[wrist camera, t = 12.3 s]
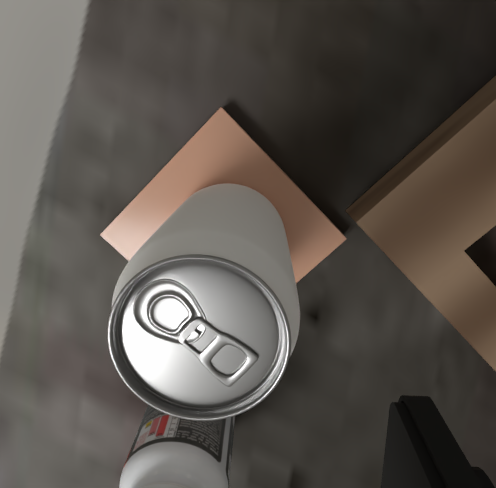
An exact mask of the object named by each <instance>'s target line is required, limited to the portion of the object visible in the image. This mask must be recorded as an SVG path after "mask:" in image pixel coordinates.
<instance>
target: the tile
mask: <svg viewBox="0 0 496 488" xmlns="http://www.w3.org/2000/svg"><path fill="white" fill-rule="evenodd" d="M224 183H230V184H239V185H243V186H246V187H249V188H251V189H253V190H255V191H257V192H259V193H260V194H262V195H263V196H264V197H266V198H267V199H268V200H269V201H270V202H271V203H272V204H273V206H274V207H275V208H276V210H277V212H278V213H279V215H280V217H281V219H282V222H283V225H284V228H285V233H286V237H287V242H288V246H289V251H290V256H291V261H292V266H293V271H294V277H295V282H296V283H297V282H298V281H299V280H300V279H302V278H303V277H304V276H305V275H306V274H307V273H308V272H309V271H311V270H312V269H313V268H314V267H315V266H316V265H317V264H319V263H320V262H321V261H322V260H323V259H324V258H325V257H327V256H328V255H329V254H330V253H331V252H332V251H333V250H335V249H336V248H337V247H338V246H339V245H340V244H341V243H342V242H344V241H345V240H346V239H347V238H346V237H345V236H344V234H343V233H342V232H341V231H340V230H339V229H338V228H337V227H336V226H335V225H334V224H333V223H332V222H331V221H330V220H329V218H328V217H327V216H326V215H325V214H324V213H323V212H322V211H321V210H320V209H319V208H318V207H317V206H316V205H315V204H314V203H313V202H312V201H311V200H310V199H309V198H308V196H307V195H306V194H305V193H304V192H303V191H302V190H301V189H300V188H299V187H298V186H297V185H296V184H295V183H294V182H293V181H292V180H291V179H290V178H289V177H288V175H287V174H286V173H285V172H284V171H283V170H282V169H281V168H280V167H279V166H278V165H277V164H276V163H275V162H274V161H273V160H272V159H271V158H270V157H269V156H268V155H267V153H266V152H265V151H264V150H263V149H262V148H261V147H260V146H259V145H258V144H257V143H256V142H255V141H254V140H253V139H252V138H251V137H250V136H249V135H248V134H247V132H246V131H245V130H244V129H243V128H242V127H241V126H240V125H239V124H238V123H237V122H236V121H235V120H234V119H233V118H232V117H231V116H230V115H229V114H228V113H227V112H226V110H225V109H224V108H222V107H221V108H220V109H219V110H218V111H217V112H216V113H215V114H214V115H213V116H212V117H211V118H210V119H209V120H208V121H207V122H206V123H205V125H204V126H203V127H202V128H201V129H200V130H199V131H198V132H197V133H196V134H195V135H194V136H193V137H192V138H191V139H190V140H189V141H188V142H187V144H186V145H185V146H184V147H183V148H182V149H181V150H180V151H179V152H178V153H177V154H176V155H175V156H174V157H173V158H172V159H171V160H170V162H169V163H168V164H167V165H166V166H165V167H164V168H163V169H162V170H161V171H160V172H159V173H158V174H157V175H156V176H155V177H154V178H153V179H152V181H151V182H150V183H149V184H148V185H147V186H146V187H145V188H144V189H143V190H142V191H141V192H140V193H139V194H138V195H137V196H136V197H135V199H134V200H133V201H132V202H131V203H130V204H129V205H128V206H127V207H126V208H125V209H124V210H123V211H122V212H121V213H120V214H119V215H118V216H117V218H116V219H115V220H114V221H113V222H112V223H111V224H110V225H109V226H108V227H107V228H106V229H105V230H104V231H103V232H102V233H101V234H100V235H101V236H102V237H103V238H104V239H105V240H106V241H107V242H108V243H110V244H111V245H112V246H113V247H114V248H115V249H116V250H117V251H118V252H119V253H121V254H122V255H123V256H124V257H125V258H126V259H127V260H128V261H130V260H131V258H132V257H133V256H134V255H135V253H136V252H137V251H138V250H139V249H140V248H141V247H142V246H143V244H144V243H145V242H146V241H147V240H148V239H149V238H150V237H151V236H152V235H153V234H154V233H155V232H156V231H157V230H158V228H159V227H160V226H161V225H162V224H163V223H164V222H165V221H166V220H167V219H168V218H169V217H170V216H171V215H172V214H173V213H174V212H175V211H176V210H177V209H178V208H179V207H180V206H181V205H182V204H183V203H184V202H185V201H186V200H187V199H188V198H189V197H190V196H191V195H192V194H194V193H195V192H197V191H199V190H201V189H203V188H206V187H209V186H212V185H216V184H224Z"/></svg>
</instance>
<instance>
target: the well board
mask: <svg viewBox="0 0 496 488" xmlns="http://www.w3.org/2000/svg"><path fill="white" fill-rule="evenodd" d="M345 211H346V212H347V213H348V214H349V215H350V217H351V218H352V219H353V220H354V221H355V222H356V223H357V224H358V225H359V226H360V227H361V228H362V230H363V231H364V232H365V233H366V234H367V235H368V236H369V237H370V238H371V239H372V240H373V241H374V242H375V243H376V244H377V245H378V247H379V248H380V249H381V250H382V251H383V252H384V253H385V254H386V255H387V256H388V257H389V258H390V259H391V260H392V261H393V263H394V264H395V265H396V266H397V267H398V268H399V269H400V270H401V271H402V272H403V273H404V274H405V275H406V276H407V277H408V278H409V280H410V281H411V282H412V283H413V284H414V285H415V286H416V287H417V288H418V289H419V290H420V291H421V292H422V293H423V294H424V296H425V297H426V298H427V299H428V300H429V301H430V302H431V303H432V304H433V305H434V306H435V307H436V308H437V309H438V310H439V311H440V313H441V314H442V315H443V316H444V317H445V318H446V319H447V320H448V321H449V322H450V323H451V324H452V325H453V326H454V327H455V329H456V330H457V331H458V332H459V333H460V334H461V335H462V336H463V337H464V338H465V339H466V340H467V341H468V342H469V343H470V344H471V346H472V347H473V348H474V349H475V350H476V351H477V352H478V353H479V354H480V355H481V356H482V357H483V358H484V359H485V360H486V362H487V363H488V364H489V365H490V366H491V367H492V368H493V369H494V370H495V371H496V286H495V285H494V284H493V283H492V282H491V281H490V280H489V279H488V277H487V276H486V275H485V274H484V273H483V272H482V271H481V270H480V268H479V267H478V266H477V265H476V264H475V263H474V262H473V261H472V259H471V258H470V257H469V256H468V255H467V254H466V253H465V252H464V250H466V249H467V248H468V247H469V246H471V245H472V244H473V243H474V242H475V241H477V240H478V239H479V238H480V237H482V236H483V235H484V234H485V233H487V232H488V231H489V230H490V229H492V228H493V227H494V226H495V225H496V76H495V77H493V78H492V79H491V80H490V81H489V82H488V83H487V84H486V85H485V86H483V87H482V88H481V89H480V90H479V91H478V92H477V93H476V94H475V95H473V96H472V97H471V98H470V99H469V100H468V101H467V102H466V103H465V104H463V105H462V106H461V107H460V108H459V109H458V110H457V111H456V112H454V113H453V114H452V115H451V116H450V117H449V118H448V119H447V120H446V121H444V122H443V123H442V124H441V125H440V126H439V127H438V128H437V129H436V130H434V131H433V132H432V133H431V134H430V135H429V136H428V137H427V138H426V139H424V140H423V141H422V142H421V143H420V144H419V145H418V146H417V147H416V148H414V149H413V150H412V151H411V152H410V153H409V154H408V155H407V156H406V157H404V158H403V159H402V160H401V161H400V162H399V163H398V164H397V165H396V166H394V167H393V168H392V169H391V170H390V171H389V172H388V173H387V174H385V175H384V176H383V177H382V178H381V179H380V180H379V181H378V182H377V183H375V184H374V185H373V186H372V187H371V188H370V189H369V190H368V191H367V192H365V193H364V194H363V195H362V196H361V197H360V198H359V199H358V200H357V201H355V202H354V203H353V204H352V205H351V206H350V207H349V208H348V209H347V210H345Z"/></svg>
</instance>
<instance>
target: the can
mask: <svg viewBox="0 0 496 488" xmlns="http://www.w3.org/2000/svg"><path fill="white" fill-rule="evenodd" d="M299 325H300V307H299V299H298V293H297V287H296V282H295V277H294V271H293V266H292V261H291V256H290V251H289V246H288V242H287V237H286V233H285V228H284V225H283V222H282V219H281V217H280V215H279V213H278V212H277V210H276V208H275V207H274V206H273V204H272V203H271V202H270V201H269V200H268V199H267V198H266V197H264V196H263V195H262V194H260V193H259V192H257V191H255V190H253V189H251V188H249V187H246V186H243V185H239V184H230V183H224V184H216V185H212V186H209V187H206V188H203V189H201V190H199V191H197V192H195V193H194V194H192V195H191V196H190V197H189V198H188V199H187V200H186V201H185V202H184V203H183V204H182V205H181V206H180V207H179V208H178V209H177V210H176V211H175V212H174V213H173V214H172V215H171V216H170V217H169V218H168V219H167V220H166V221H165V222H164V223H163V224H162V225H161V226H160V227H159V228H158V230H157V231H156V232H155V233H154V234H153V235H152V236H151V237H150V238H149V239H148V240H147V241H146V242H145V243H144V244H143V246H142V247H141V248H140V249H139V250H138V251H137V252H136V253H135V255H134V256H133V257H132V258H131V260H130V261H129V262H128V264H127V265H126V267H125V268H124V270H123V272H122V273H121V275H120V277H119V279H118V282H117V284H116V287H115V290H114V294H113V299H112V309H111V312H110V315H109V320H108V327H107V340H108V348H109V352H110V356H111V359H112V362H113V364H114V366H115V369H116V371H117V372H118V374H119V376H120V377H121V379H122V380H123V382H124V383H125V384H126V385H127V387H128V388H129V389H130V390H131V391H132V392H133V393H134V394H135V395H136V396H137V397H139V398H140V399H141V400H142V401H144V402H145V403H147V404H148V405H150V406H151V407H153V408H155V409H157V410H159V411H161V412H163V413H165V414H168V415H171V416H174V417H178V418H182V419H187V420H195V421H213V420H220V419H226V418H230V417H233V416H236V415H239V414H241V413H244V412H246V411H248V410H250V409H251V408H253V407H255V406H256V405H258V404H259V403H260V402H262V401H263V400H264V399H265V398H266V397H267V396H268V395H269V394H270V393H271V392H272V391H273V390H274V389H275V388H276V386H277V385H278V383H279V382H280V380H281V379H282V377H283V375H284V373H285V370H286V368H287V365H288V362H289V358H290V356H291V354H292V352H293V350H294V347H295V345H296V341H297V338H298V333H299Z"/></svg>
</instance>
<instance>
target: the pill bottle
mask: <svg viewBox="0 0 496 488" xmlns="http://www.w3.org/2000/svg"><path fill="white" fill-rule="evenodd" d="M234 423H235V416H233V417H230V418H226V419H220V420H213V421H195V420H187V419H182V418H178V417H174V416H171V415H168V414H165V413H163V412H161V411H159V410H157V409H155V408H153V407H151V406H150V405H148V406H147V409H146V412H145V414H144V417H143V419H142V422H141V425H140V427H139V430H138V432H137V435H136V437H135V440H134V442H133V445H132V448H131V450H130V452H129V455H128V458H127V460H126V462H125V465H124V468H123V471H122V475H121V478H120V488H229V480H230V468H231V457H232V446H233V435H234Z"/></svg>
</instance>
